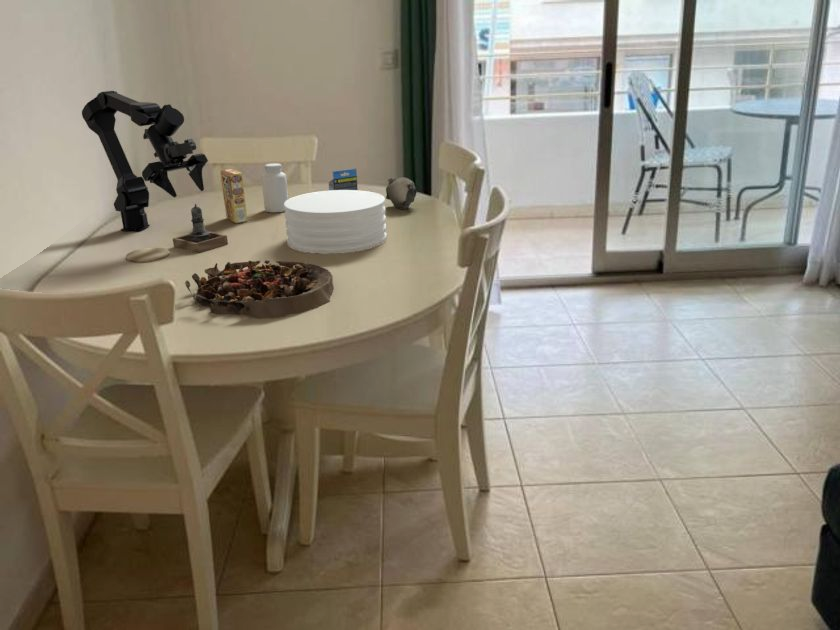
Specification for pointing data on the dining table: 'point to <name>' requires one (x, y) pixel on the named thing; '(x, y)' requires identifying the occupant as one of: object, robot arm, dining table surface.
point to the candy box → (234, 195)
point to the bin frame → (211, 243)
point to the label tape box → (344, 180)
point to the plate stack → (335, 221)
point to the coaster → (147, 255)
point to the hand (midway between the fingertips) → (189, 193)
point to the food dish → (264, 289)
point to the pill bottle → (274, 188)
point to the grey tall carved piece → (198, 226)
